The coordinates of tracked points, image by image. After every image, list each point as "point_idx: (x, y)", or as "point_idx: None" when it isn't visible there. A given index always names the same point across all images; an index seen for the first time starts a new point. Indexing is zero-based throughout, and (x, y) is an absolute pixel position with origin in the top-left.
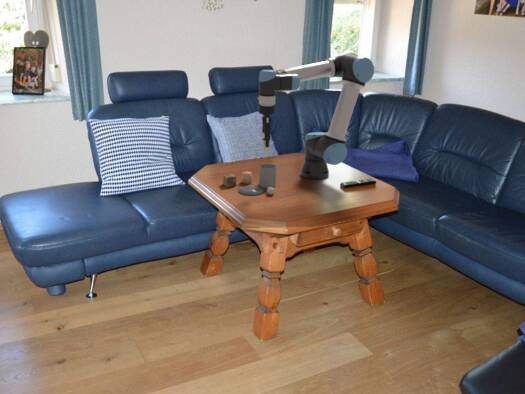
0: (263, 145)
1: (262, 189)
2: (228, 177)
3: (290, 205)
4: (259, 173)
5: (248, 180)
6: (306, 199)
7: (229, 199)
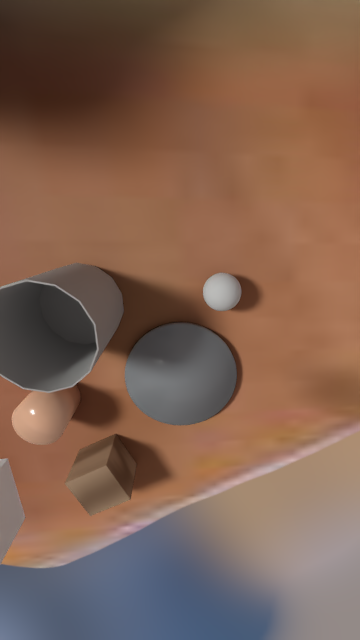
0: (15, 517)
1: (174, 328)
2: (126, 493)
3: None
4: (71, 368)
5: (73, 397)
6: (295, 90)
7: (281, 445)
